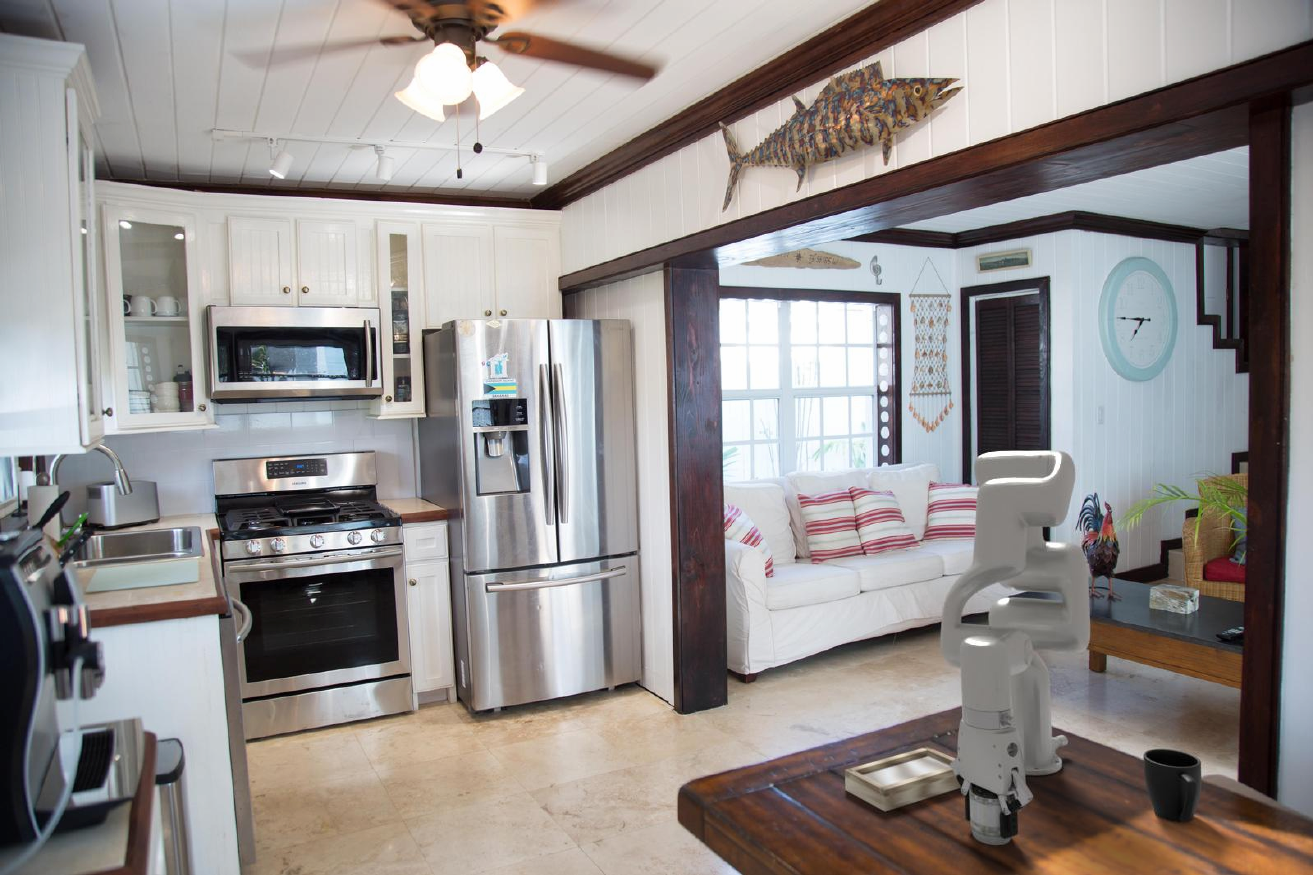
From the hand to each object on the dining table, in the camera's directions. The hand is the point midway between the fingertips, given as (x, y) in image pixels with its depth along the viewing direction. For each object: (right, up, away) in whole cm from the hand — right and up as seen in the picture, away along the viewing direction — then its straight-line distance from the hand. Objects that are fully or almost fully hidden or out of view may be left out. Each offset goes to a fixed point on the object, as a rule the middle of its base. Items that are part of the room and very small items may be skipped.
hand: (991, 826), depth 141 cm
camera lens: (0, -2, 0) cm, 2 cm away
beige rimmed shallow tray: (-8, -2, +20) cm, 21 cm away
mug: (+31, 0, +3) cm, 31 cm away
